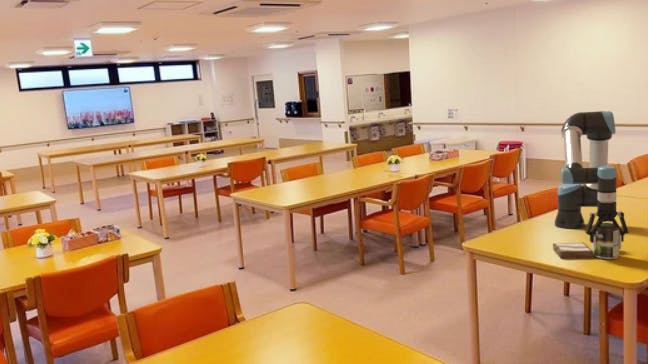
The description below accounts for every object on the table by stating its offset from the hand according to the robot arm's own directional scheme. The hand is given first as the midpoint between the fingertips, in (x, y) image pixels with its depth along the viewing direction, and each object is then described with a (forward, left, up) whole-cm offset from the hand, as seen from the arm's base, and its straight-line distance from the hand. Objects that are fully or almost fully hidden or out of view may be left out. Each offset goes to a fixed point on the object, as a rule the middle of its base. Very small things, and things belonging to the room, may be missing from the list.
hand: (606, 248), depth 248 cm
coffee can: (0, 0, -3) cm, 3 cm away
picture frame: (-6, -13, -4) cm, 15 cm away
